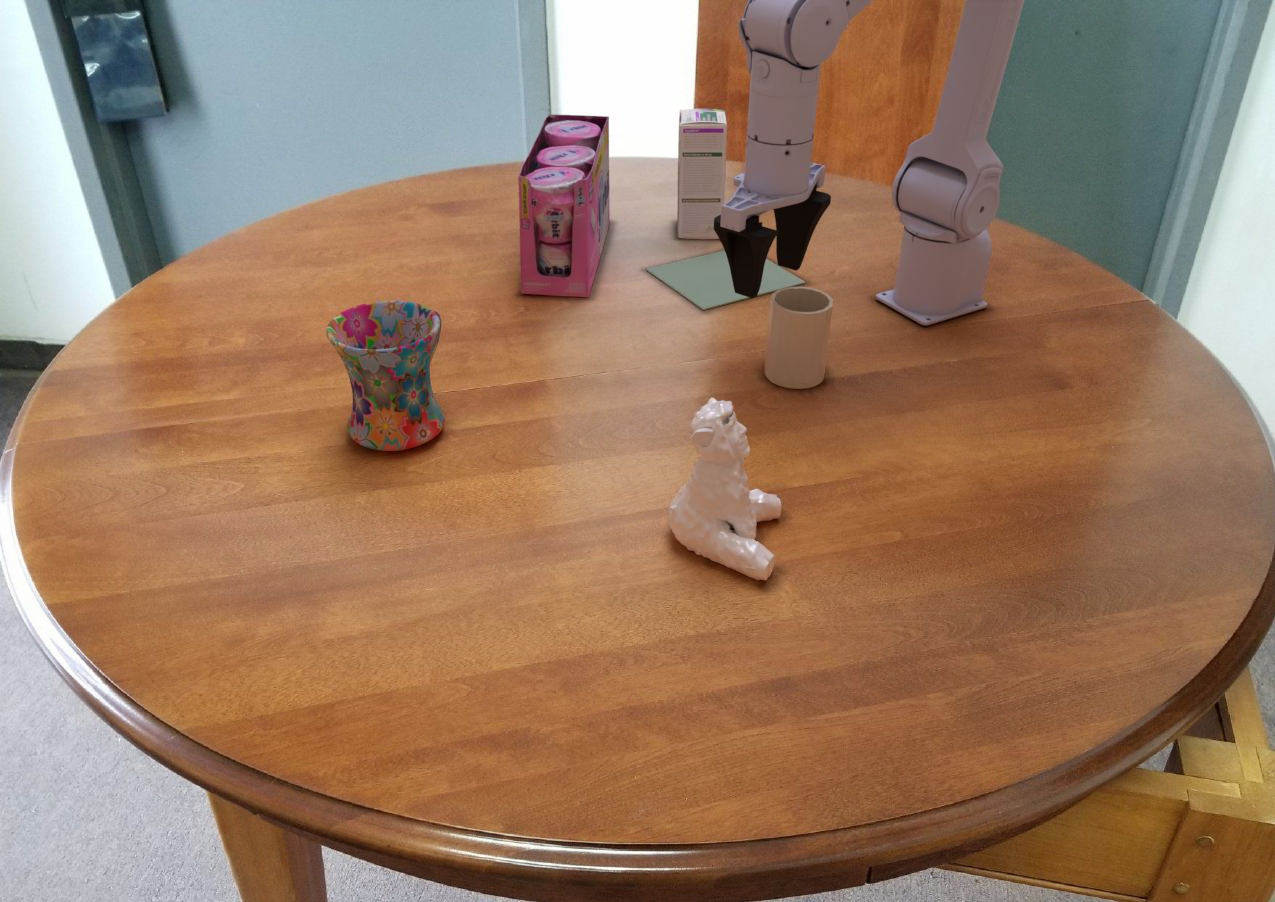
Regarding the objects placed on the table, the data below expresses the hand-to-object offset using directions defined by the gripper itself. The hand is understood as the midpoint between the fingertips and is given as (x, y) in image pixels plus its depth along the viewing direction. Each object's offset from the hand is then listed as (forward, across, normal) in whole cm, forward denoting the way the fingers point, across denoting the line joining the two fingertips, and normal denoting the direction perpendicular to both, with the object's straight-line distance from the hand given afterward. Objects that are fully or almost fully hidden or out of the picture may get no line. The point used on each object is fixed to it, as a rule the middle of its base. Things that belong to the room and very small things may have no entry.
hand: (767, 280), depth 100 cm
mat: (+10, -16, -15) cm, 24 cm away
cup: (+10, -2, +3) cm, 10 cm away
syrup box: (+10, -26, -25) cm, 37 cm away
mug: (+10, +28, -20) cm, 36 cm away
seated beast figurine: (+10, +25, +12) cm, 29 cm away
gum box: (+10, -10, -33) cm, 35 cm away
